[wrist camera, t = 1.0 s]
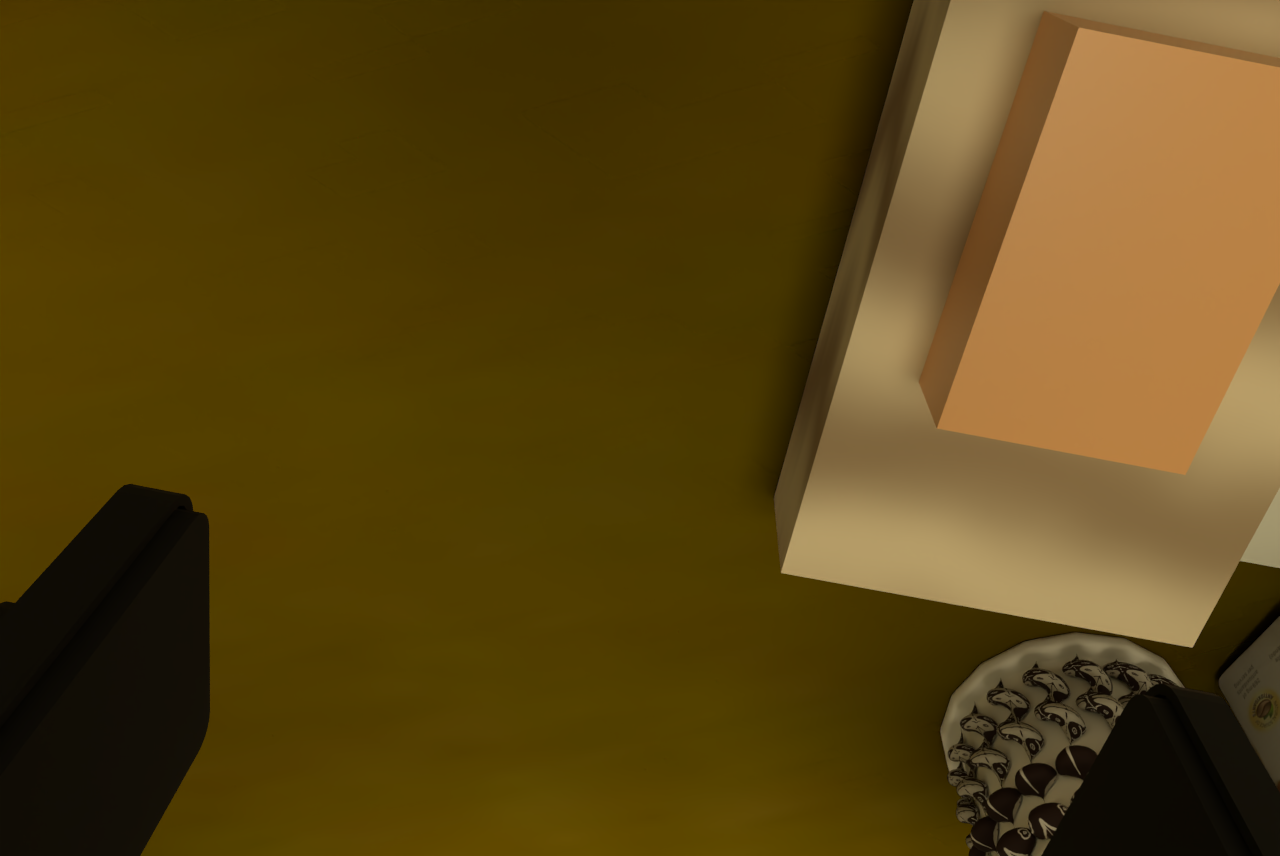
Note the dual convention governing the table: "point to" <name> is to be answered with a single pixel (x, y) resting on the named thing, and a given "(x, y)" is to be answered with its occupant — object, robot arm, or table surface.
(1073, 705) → the decorative candle
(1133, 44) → the orange rectangular block
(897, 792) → the table surface
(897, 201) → the beige brown rectangular block
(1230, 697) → the coffee box
